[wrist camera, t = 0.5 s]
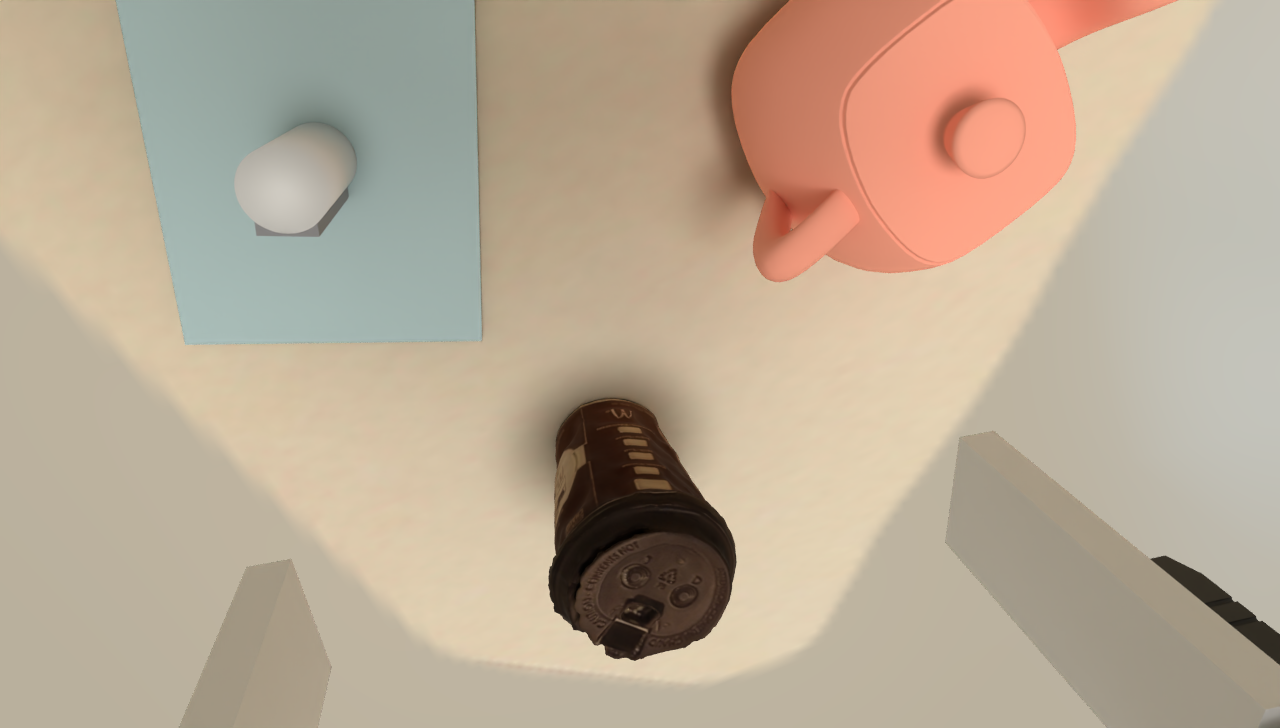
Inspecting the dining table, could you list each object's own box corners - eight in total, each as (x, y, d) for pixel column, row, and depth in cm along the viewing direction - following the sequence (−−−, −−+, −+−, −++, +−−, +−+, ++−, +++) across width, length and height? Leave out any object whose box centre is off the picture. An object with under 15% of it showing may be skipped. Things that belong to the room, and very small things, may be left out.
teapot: (1068, 78, 39) (1291, 99, 28) (767, 310, 41) (868, 411, 31) (970, -171, 33) (1206, -263, 22) (626, 115, 36) (689, 156, 25)
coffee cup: (560, 524, 45) (588, 698, 33) (509, 414, 41) (521, 567, 29) (693, 473, 45) (766, 629, 34) (655, 359, 41) (723, 490, 30)
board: (104, -87, 29) (-12, -121, 22) (473, -52, 31) (471, -73, 25) (189, 339, 36) (122, 413, 29) (481, 336, 39) (482, 403, 32)
